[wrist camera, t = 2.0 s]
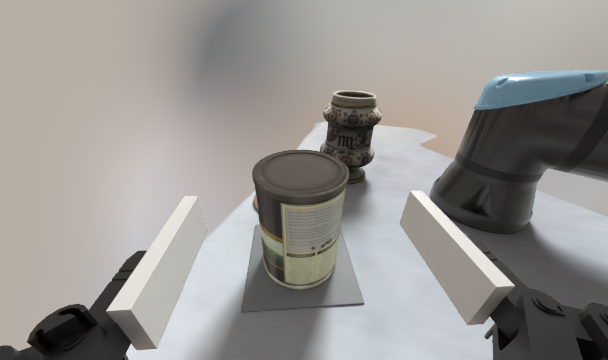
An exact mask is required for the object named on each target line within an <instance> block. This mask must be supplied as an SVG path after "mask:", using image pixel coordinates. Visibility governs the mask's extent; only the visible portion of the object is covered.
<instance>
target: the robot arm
mask: <svg viewBox="0 0 608 360" xmlns="http://www.w3.org/2000/svg"><path fill="white" fill-rule="evenodd" d="M607 81H608V72H607V71H603V70H577V71H574V70H567V71H544V72H528V73H516V74H507V75H502V76H498V77H496V78H494V79H492V80H491V81H490V82H488V83H487V85H486V86H485V88H484V90H483V92H482V94H481V97H480V98H479V101H478V103H477V104H476V105H475V106H474V109H475V111H474V114H473V116H472V118H471V121H470V123H469V126H468V128H467V130H466V133H465V135H464V138H463V140H462V142H461V145H460V147H459V149H458V152H457V154H456V157H455V159H454V161H453V162H452V163H451V164H450V165H449V167H448V168H447V169H446V170H445V171H444V173H443V174H442V176H441V177H439V178H438V179H437V180H436V181H435V182H434V184H433V187H432V190H431V192H430V197H431V199H432V201H433V202H432V201H431V200H430V199H429V198H428V197H427V196H426V195H425V194H424V193H423V192H422V191H410V193H409V196H408V199H407V202H406V205H405V208H404V211H403V214H402V218H401V221H400V225H401V227H402V228H403V230H404V231H405V233H406V234H407V236H408V237H409V239H410V240H411V242H412V243H413V244H414V246H415V247H416V249H417V250H418V252H419V253H420V255H421V256H422V258H423V259H424V261H425V262H426V264H427V265H428V267H429V268H430V270H431V271H432V273H433V274H434V276H435V277H436V279H437V280H438V282H439V283H440V285H441V286H442V288H443V289H444V291H445V292H446V294H447V295H448V297H449V298H450V300H451V301H452V303H453V304H454V306H455V307H456V309H457V310H458V312H459V313H460V315H461V316H462V318H463V319H464V321H465V322H466V324H467V325H475V324H484V322H485V321H486V320H487V319H488V318H489V316H490V317H491V318H492V320H493V321H494V322H495V324H494V325H493V326H492V327H491V329H490V330H489V331H488V332H487V333H486V335H485V338H486V339H489V337H490V336H491V335H493V341H492V342H493V360H608V307H607V306H604V305H602V304H596V303H591V304H588V305H587V306H586V307H584V308H583V309H582V310H580V309H576V308H572V307H567V306H563V305H560V304H559V303H558V302H557V301H556V300H554V299H553V298H552V297H550V296H548V295H546V294H544V293H542V292H540V291H537V290H533V289H529V288H527V287H526V286H525V285H524V284H523V283H522V282H521V281H520V280H519V279H518V278H517V277H516V276H515V275H514V274H513V273H512V272H511V271H510V270H509V269H508V268H507V267H506V266H505V265H504V264H503V263H502V262H501V261H498V259H497V258H496V257H495V256H494V255H493V254H491V252H490V251H489V250H488V249H487V248H486V247H485V246H484V245H483V244H482V243H481V242H479V241H477V240H476V239H474V238H473V237H471V236H466V235H465V234H464V233H463V232H462V231H461V230H460V229H459V228H458V227H457V226H456V225H455V224H454V223H453V222H452V221H451V220H450V219H449V218H448V217H447V216H446V215H445V214H447V215H448V216H450V217H452V218H453V219H455V220H457V221H459V222H461V223H464V224H466V225H469V226H471V227H474V228H477V229H481V230H485V231H489V232H495V233H515V232H518V231H521V230H522V229H523V228H524V227H525V226H526V225H527V223H528V222H529V220H530V219H531V217H532V208H533V203H534V198H535V192H536V185H537V183H538V181H539V179H540V178H541V176H542V175H543V173H544V172H545V171H546V169H554V170H558V171H563V172H567V173H572V174H576V175H580V176H584V177H589V178H593V179H597V180H601V181H605V182H608V84H605V83H606V82H607ZM442 211H443V212H444V213H445V214H444V213H443V212H442ZM206 233H207V227H206V223H205V220H204V216H203V212H202V208H201V205H200V201H199V197H198V196H185V197H184V198H183V200H182V201H181V203H180V204H179V205H178V207H177V208H176V210H175V211H174V213H173V214H172V216H171V217H170V219H169V220H168V222H167V223H166V225H165V226H164V227H163V229H162V230H161V232H160V233H159V235H158V236H157V238H156V239H155V240H154V242H153V243H152V245H151V246H150V248H149V249H148V251H137V252H136V253H135V254H134V255H132V256H131V257H130V258H129V259H127V260H126V262H125V263H124V264H123V266H122V267H121V268H120V269H119V272H118V273H117V274H116V275H115V276H114V277H113V279H112V281H111V282H110V283H109V284H108V285H107V287H106V288H105V289H104V291H103V292H102V293H101V295H100V296H99V297H98V299H97V300H96V301H95V303H94V304H93V305H92V307H91V308H90V309H89V310H88V309H87V308H86V307H85V306H84V305H80V304H74V305H68V306H66V307H64V308H61V309H58V310H57V311H55V312H53V313H52V314H50V315H49V316H47V317H46V318H45V319H44V320H42V321H41V322H40V323H39V324H38V325H37V326H36V327H35V328H34V330H33V331H32V332H31V333H30V335H29V338H28V341H27V342H28V343H29V344H30V345H31V346H32V347H29V348H27V349H24V350H21V351H17V350H16V349H14V348H13V347H11V346H0V360H128V357H127V356H126V352H127V350H128V348H129V346H130V344H132V345H133V346H134V348H135V349H136V350H145V349H157V347H158V345H159V343H160V340H161V338H162V336H163V333H164V331H165V329H166V326H167V324H168V322H169V319H170V317H171V315H172V312H173V310H174V308H175V305H176V303H177V301H178V298H179V296H180V294H181V291H182V289H183V287H184V284H185V282H186V280H187V277H188V275H189V273H190V270H191V268H192V266H193V263H194V261H195V259H196V256H197V254H198V252H199V249H200V247H201V245H202V242H203V240H204V238H205V235H206Z"/></svg>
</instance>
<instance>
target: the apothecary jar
mask: <svg viewBox="0 0 608 360" xmlns="http://www.w3.org/2000/svg"><path fill="white" fill-rule="evenodd" d="M323 115H324V118H325V119H326V120H327V121H328V131H327V139H326V140H325V141H324V142H323V143H322V145H321V147H320V152H322V153H326V154H329V155H331V156H334V157H336V158H337V159H339V160H341V161H342V162H343V163H344V164H345V165H346V166H347V168H348V170H349V178H348V183H357V182H359V181H361V180H363V179H364V178H365V172H364V170H363V169H362V168H360V167H363V166H365V165H367V164H368V163H370V162H371V161H372V159H373V157H374V149H373V147H372V146H371V145H370V144H371V137H372V132H373V127H374V125H376V124H378V122H379V121H380V120H381V117H382V113H381V111H380V109H379V108H378V107H377V106H376V95H374V94H371V93H367V92H361V91H336V92H334V93H333V99H332V101H331V103H329V104H328V105H327V106H326V107H325V109H324V112H323Z"/></svg>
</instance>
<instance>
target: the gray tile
mask: <svg viewBox="0 0 608 360" xmlns="http://www.w3.org/2000/svg"><path fill="white" fill-rule="evenodd" d="M263 258H264V255H263V247H262V239H261V231H260V225H255V232H254V238H253V244H252V250H251V256H250V262H249V268H248V274H247V281H246V287H245V293H244V299H243V305H242V312H250V311H265V310H279V309H293V308H307V307H321V306H336V305H350V304H364V301H363V298H362V295H361V291H360V288H359V285H358V282H357V279H356V276H355V272H354V269H353V266H352V263H351V260H350V256H349V253H348V250H347V247H346V244H345V240H344V237H343V234H342V231H341V228H340V233H339V240H338V247H337V254H336V266H335V268H334V271H333V273H332V274H331V276H330V277H329V278H328V279H327V280H326V281H324V282H323V283H321V284H320V285H318V286H316V287H313V288H309V289H302V290H299V289H290V288H286V287H284V286H282V285H280V284H278V283H276V282H275V281H274V280H273V279H272V278H271V277H270V276H269V275H268V273H267V271H266V269H265V266H264V261H263Z"/></svg>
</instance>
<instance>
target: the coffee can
mask: <svg viewBox="0 0 608 360" xmlns="http://www.w3.org/2000/svg"><path fill="white" fill-rule="evenodd" d="M252 175H253V181H254V184H255V190H256V198H257V207H258V214H259V222H260V231H261V239H262V247H263V255H264V258H263V261H264V266H265V269H266V271H267V273H268V275H269V276H270V277H271V278H272V279H273V280H274V281H275V282H276V283H278V284H280V285H282V286H284V287H286V288H290V289H299V290H302V289H309V288H313V287H316V286H318V285H320V284H321V283H323V282H324V281H326V280H327V279H328V278H329V277H330V276H331V274H332V273H333V271H334V268H335V266H336V254H337V247H338V240H339V233H340V226H341V219H342V211H343V204H344V197H345V190H346V185H347V183H348V178H349V170H348V168H347V166H346V165H345V164H344V163H343V162H342V161H341V160H339V159H337V158H336V157H334V156H331V155H329V154H326V153H322V152H318V151H311V150H289V151H283V152H278V153H275V154H272V155H269V156H267V157H265V158H263V159H261V160H260V161H259V162H258V163H257V164H256V165H255V166H254V168H253V172H252Z"/></svg>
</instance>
